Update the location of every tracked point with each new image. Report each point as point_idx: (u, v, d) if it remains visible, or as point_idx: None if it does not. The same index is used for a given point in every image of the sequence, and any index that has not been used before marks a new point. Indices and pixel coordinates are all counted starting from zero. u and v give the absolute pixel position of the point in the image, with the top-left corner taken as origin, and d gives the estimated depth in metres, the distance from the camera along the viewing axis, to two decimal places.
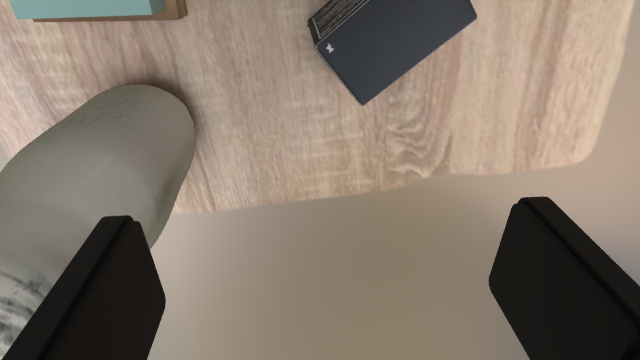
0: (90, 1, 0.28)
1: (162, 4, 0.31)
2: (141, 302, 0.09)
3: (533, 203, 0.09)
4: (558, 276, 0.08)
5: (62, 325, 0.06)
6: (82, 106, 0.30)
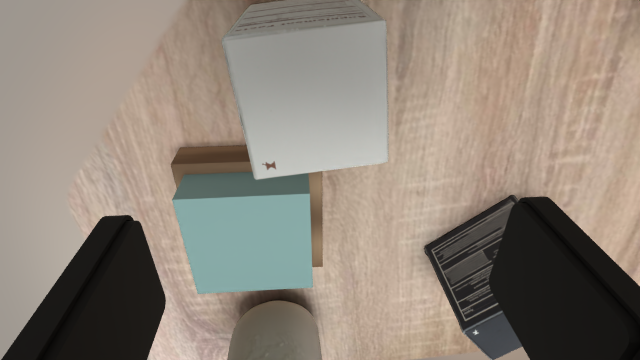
0: (262, 281, 0.32)
1: None
2: (141, 302, 0.09)
3: (533, 203, 0.09)
4: (558, 276, 0.08)
5: (62, 325, 0.06)
6: (247, 358, 0.34)
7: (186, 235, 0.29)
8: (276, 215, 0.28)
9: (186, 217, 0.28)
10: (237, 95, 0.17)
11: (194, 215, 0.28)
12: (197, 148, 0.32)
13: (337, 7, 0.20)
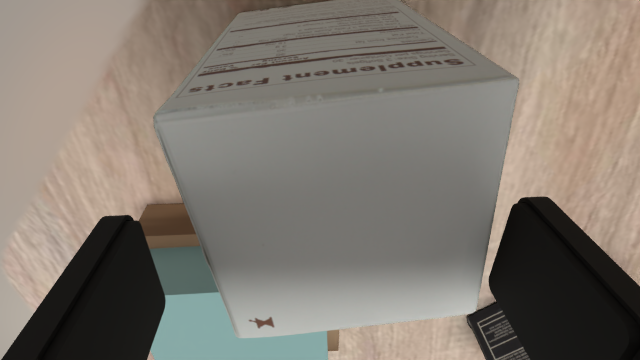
0: None
1: None
2: (141, 302, 0.09)
3: (533, 203, 0.09)
4: (558, 276, 0.08)
5: (62, 325, 0.06)
6: None
7: None
8: None
9: None
10: (195, 219, 0.09)
11: None
12: (170, 206, 0.23)
13: (385, 28, 0.11)
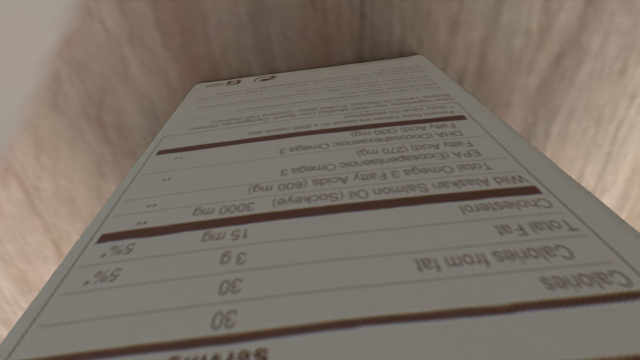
0: None
1: None
2: None
3: None
4: None
5: None
6: None
7: None
8: None
9: None
10: None
11: None
12: None
13: (466, 190, 0.05)
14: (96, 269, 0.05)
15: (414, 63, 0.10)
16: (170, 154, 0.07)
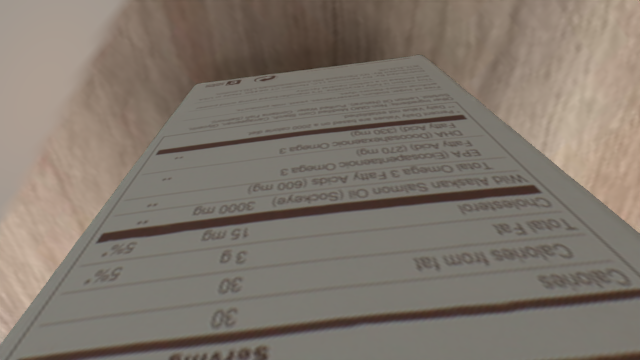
0: None
1: None
2: None
3: None
4: None
5: None
6: None
7: None
8: None
9: None
10: None
11: None
12: None
13: (465, 189, 0.05)
14: (97, 268, 0.05)
15: (414, 63, 0.10)
16: (170, 154, 0.07)
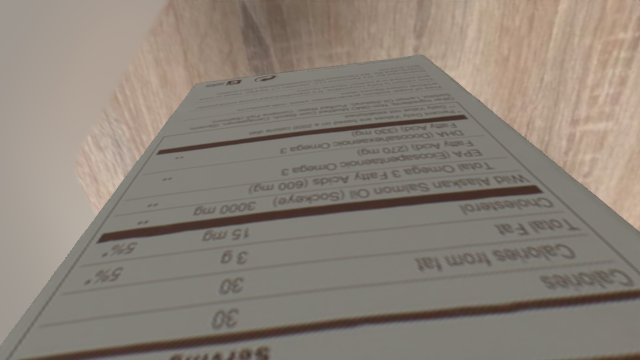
0: None
1: None
2: None
3: None
4: None
5: None
6: None
7: None
8: None
9: None
10: None
11: None
12: None
13: (466, 189, 0.05)
14: (97, 268, 0.05)
15: (415, 63, 0.10)
16: (171, 154, 0.07)
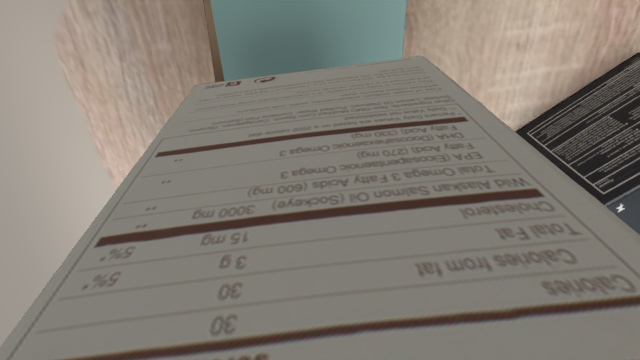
0: None
1: None
2: None
3: None
4: None
5: None
6: None
7: (228, 64, 0.20)
8: (356, 27, 0.20)
9: (228, 30, 0.20)
10: None
11: (240, 27, 0.19)
12: None
13: (467, 193, 0.05)
14: (95, 273, 0.05)
15: (415, 64, 0.10)
16: (170, 156, 0.07)
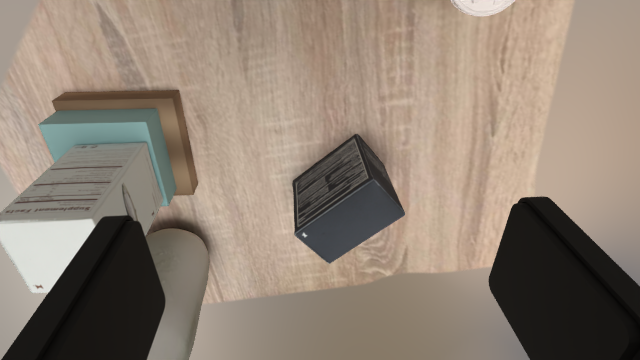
0: None
1: (174, 188, 0.44)
2: (141, 302, 0.09)
3: (533, 203, 0.09)
4: (558, 276, 0.08)
5: (62, 325, 0.06)
6: None
7: (55, 156, 0.37)
8: (123, 140, 0.37)
9: (52, 140, 0.36)
10: (6, 250, 0.27)
11: (58, 138, 0.36)
12: (80, 92, 0.40)
13: (99, 181, 0.31)
14: (32, 189, 0.30)
15: (137, 146, 0.36)
16: (53, 170, 0.32)
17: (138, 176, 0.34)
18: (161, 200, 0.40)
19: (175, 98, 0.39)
